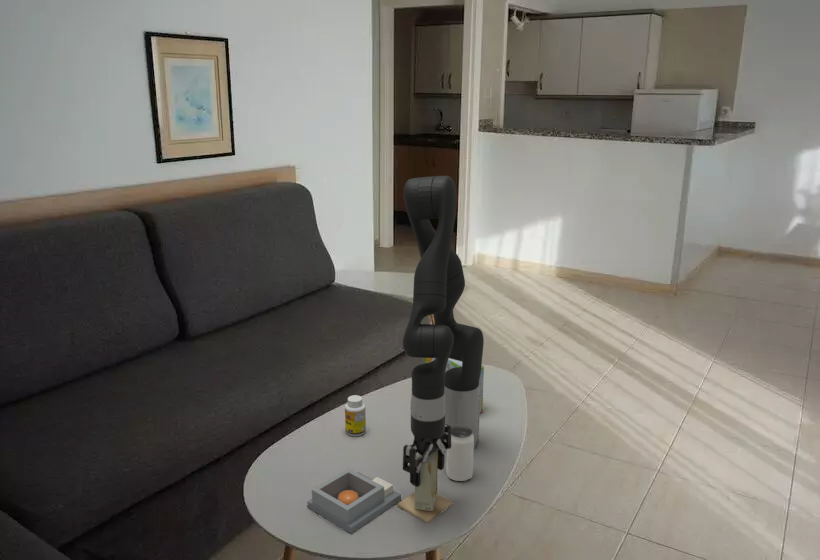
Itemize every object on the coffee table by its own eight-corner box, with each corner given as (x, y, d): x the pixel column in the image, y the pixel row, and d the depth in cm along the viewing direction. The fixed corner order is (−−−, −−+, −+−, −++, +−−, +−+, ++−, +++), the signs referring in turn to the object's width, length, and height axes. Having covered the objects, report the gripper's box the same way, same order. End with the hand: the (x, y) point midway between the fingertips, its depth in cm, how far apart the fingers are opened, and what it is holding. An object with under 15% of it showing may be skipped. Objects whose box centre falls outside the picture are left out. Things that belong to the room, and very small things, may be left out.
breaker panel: (358, 477, 162) (357, 458, 160) (401, 499, 153) (401, 480, 152) (307, 507, 150) (306, 487, 149) (351, 533, 142) (350, 513, 140)
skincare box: (433, 512, 148) (433, 463, 144) (413, 509, 149) (414, 461, 145) (437, 495, 154) (438, 448, 150) (419, 493, 155) (419, 446, 151)
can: (455, 485, 159) (456, 440, 155) (441, 471, 164) (442, 428, 161) (477, 478, 162) (479, 434, 158) (463, 465, 167) (465, 422, 164)
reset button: (348, 498, 153) (348, 487, 152) (362, 505, 150) (362, 495, 150) (334, 507, 150) (334, 496, 149) (348, 515, 147) (348, 504, 146)
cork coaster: (422, 489, 157) (422, 486, 157) (453, 504, 152) (453, 502, 151) (397, 506, 151) (397, 504, 151) (427, 523, 145) (427, 520, 145)
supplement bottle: (342, 429, 184) (341, 395, 181) (361, 425, 186) (361, 392, 183) (349, 438, 179) (348, 404, 176) (368, 434, 181) (368, 400, 179)
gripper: (420, 429, 137) (420, 497, 142) (461, 404, 147) (460, 468, 152) (393, 418, 141) (394, 484, 146) (434, 394, 152) (434, 457, 157)
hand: (427, 476), depth 149 cm, fingers open, 8 cm apart
